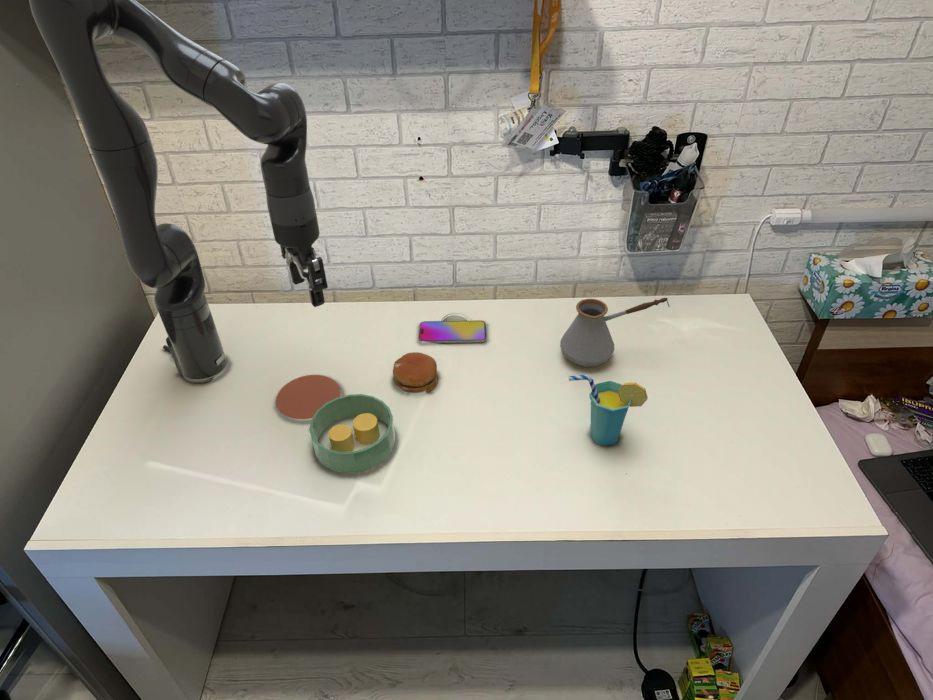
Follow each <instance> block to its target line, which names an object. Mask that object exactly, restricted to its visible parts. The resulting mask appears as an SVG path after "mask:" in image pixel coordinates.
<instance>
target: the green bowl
mask: <svg viewBox="0 0 933 700" xmlns="http://www.w3.org/2000/svg"><path fill="white" fill-rule="evenodd" d="M363 413H370V414H373V415H375V416H376V418H377V420H381V421H382V422H384V423H385V425H386V426H387V429H386V431H385V433H384V434H383V435H382V436H381V437H380V438H379V439H378V440H377V441H375V442H373V443H371V444H370V445H369V446H367V447H365V448H362V449H358V450H353V451H352V452H339V451H334V450H332V449H329V448H328V447H326V446H325V445H324V446H323V445H322V444H320V442H319V438H320V437H321V435H322V433H323V432H324V430H325V429H327V428H328V427H329V426H330V425H331V424H333V423H334V422H336V421H338V420H341V419H343V418H346V417H350V416H358V415H360V414H363ZM393 417H394V416H393V413H392V411H391V408H390V406H388V405H387V404H386V403H385V402H384V401H383V400H382V399H380V398H378V397H376V396H373V395H368V394H363V393H357V394H356V393H355V394H346V395H342V396H340V397H338V398H335V399H333V400H331V401H329V402H327V403H325V404H324V405H323V406H322V407H321V408H320V409H318V410H317V411H316V413H315V414H314V416H313V418H310V423H309V428H308V430H309V434H310V438H311V442H312V447H313V450H314V454H315V457H316V459H317V460H318V461H319V463H320V464H321V465H322V466H324V467H325V468H327V469H329V470H331V471H333V472H338V473H342V474H351V473H353V474H355V473H360V472H361V473H362V472H365V471H367V470H371V469H372V468H374V467H377V466H378V465H379V464H381V463H383V462H384V461H385V460H386V459H387V458H388V456H390V455H391V453H392V451H393V449H394V447H395V444H396V431H395V423H394V418H393Z"/></svg>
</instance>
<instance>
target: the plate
mask: <svg viewBox="0 0 933 700" xmlns="http://www.w3.org/2000/svg"><path fill="white" fill-rule="evenodd" d="M341 395H342V391H341V387H340V385H339V383H338V382H337V381H336V380H334V379H333V378H331V377H329V376H326V375H321V374H307V375H302V376H299V377H297V378H294V379H292V380H290V381H289V382H287V383H285V385H284V386H282V387H281V388H280V390H278V393H277V395H276V398H275V405H276V408H277V410H278V411H279V412H280V413H281V414H282V415H283V416H285V417H288V418H290V419H295V420H309V419H310V420H311V419H312V418H313V416H314V414H315V413H316V411H317V410H318V409H320V408H321V407H322V406H323V405H324V404H325V403H327V402H329V401H331V400H333V399H335V398H338V397H342V396H341Z"/></svg>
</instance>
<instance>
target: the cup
mask: <svg viewBox="0 0 933 700" xmlns="http://www.w3.org/2000/svg"><path fill="white" fill-rule="evenodd" d="M568 381H569V382H571V381H573V382H574V381H587V382H588V383H589V387H590V390H591V391H590V392H589V396H588V397H589V399H590V437H591V438H592V440H593V442H594V443H595V444H598V445H601V446H603V447H609V446H612V445H616V444H617V442H618V440H619V438H620V436H621V432H622V430H623V429H622V428H623V426H624V422H625V419H626V416H627V414H628V410H629V408H632V407H633V408H634V407H642V406H643V405H644V404H645V403H646V402H647V400H648V394H647V390H646V388H645V387H644V386H642V385H640V384H638V383H637V382H625V383H623V384H622V383H618V382H615V381H612V380H608V381H604V382H599V383H595V381H594V379H593V378H592V377H591V376H590V375H589V374H578V375H577V374H576V375H569V376H568Z"/></svg>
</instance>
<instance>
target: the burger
mask: <svg viewBox="0 0 933 700" xmlns="http://www.w3.org/2000/svg"><path fill="white" fill-rule="evenodd" d="M392 375H393V379H394V382H395V383H396V384H397V386H398V387H399V388H400V389H401V390H402V391H404V392H408V391H409V392H413V393H419V392H425V393H428V392H430V391H431V390H433V389H434V388H435V387H436V386H437V384H438V381H439V374H438V367H437V361H436V359H435V358H434V357H432V356H431V355H429V354H426V353H423V352H416V351H414V352H408V353H406V354H403V355H402V356H401V357H399V358H397V359H396V360H395V361H394V363H393V367H392Z"/></svg>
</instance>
